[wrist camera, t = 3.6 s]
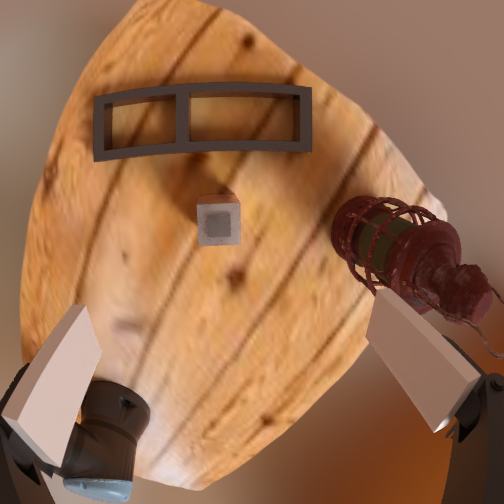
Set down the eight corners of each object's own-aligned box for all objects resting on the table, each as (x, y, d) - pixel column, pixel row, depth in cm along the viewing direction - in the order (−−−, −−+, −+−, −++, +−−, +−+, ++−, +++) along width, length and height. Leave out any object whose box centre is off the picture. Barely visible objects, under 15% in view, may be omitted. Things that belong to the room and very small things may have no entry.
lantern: (392, 186, 37) (570, 253, 9) (392, 259, 41) (528, 366, 13) (322, 194, 36) (522, 297, 8) (327, 274, 40) (455, 431, 12)
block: (201, 229, 36) (198, 247, 29) (199, 195, 34) (196, 205, 27) (235, 227, 36) (241, 245, 29) (235, 193, 35) (240, 203, 28)
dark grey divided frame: (102, 161, 30) (93, 162, 28) (103, 101, 28) (94, 97, 25) (304, 152, 34) (311, 152, 31) (303, 92, 31) (311, 87, 28)
